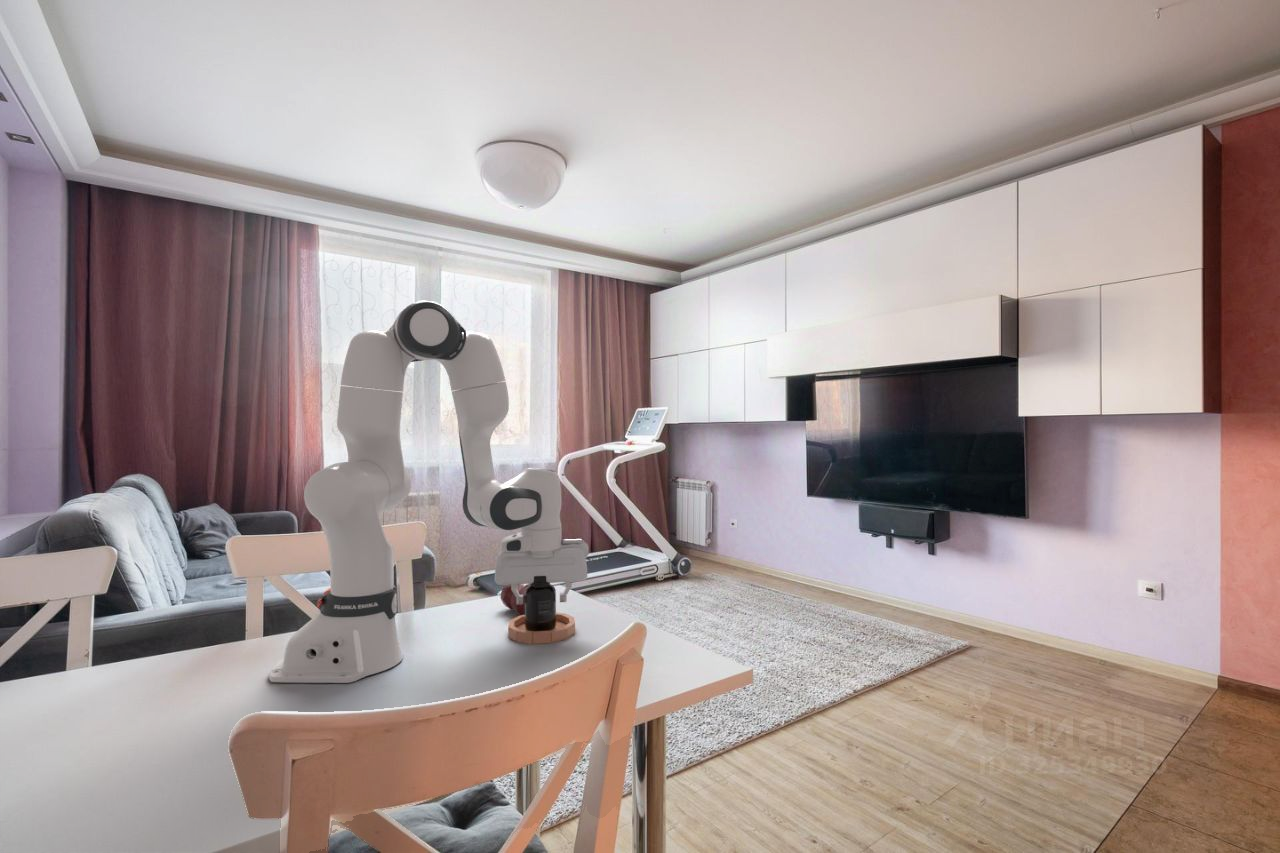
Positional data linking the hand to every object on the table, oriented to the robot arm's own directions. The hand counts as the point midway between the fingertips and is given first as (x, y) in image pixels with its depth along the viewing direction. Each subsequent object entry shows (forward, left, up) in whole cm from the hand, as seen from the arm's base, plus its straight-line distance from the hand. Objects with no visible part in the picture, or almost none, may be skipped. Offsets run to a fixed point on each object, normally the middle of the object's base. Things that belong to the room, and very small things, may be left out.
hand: (541, 602), depth 133 cm
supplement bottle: (0, 0, -6) cm, 6 cm away
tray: (0, 0, -6) cm, 7 cm away
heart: (-4, +16, -7) cm, 18 cm away
